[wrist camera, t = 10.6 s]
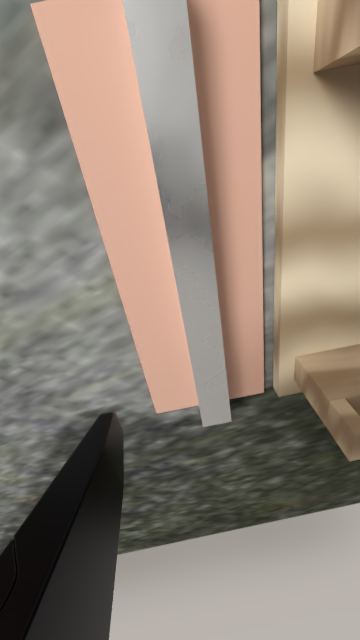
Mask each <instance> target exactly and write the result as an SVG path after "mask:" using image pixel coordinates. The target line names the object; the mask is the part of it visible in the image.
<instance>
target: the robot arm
mask: <svg viewBox="0 0 360 640" xmlns="http://www.w3.org/2000/svg"><path fill="white" fill-rule="evenodd" d="M123 487H124V465H123V430H122V427H121V425H120V422H119V420H118V417H117V415H116V413H115V412H114V411H111V412H106V413H102V414H100V415H99V416H98V418H97V419H96V421H95V422H94V424H93V425H92V426H91V428H90V429H89V431H88V432H87V433H86V435H85V436H84V438H83V439H82V440H81V442H80V443H79V445H78V446H77V448H76V449H75V450H74V452H73V453H72V455H71V456H70V457H69V459H68V460H67V462H66V463H65V464H64V466H63V467H62V469H61V470H60V472H59V473H58V474H57V476H56V477H55V479H54V480H53V481H52V483H51V484H50V486H49V487H48V488H47V490H46V491H45V493H44V494H43V496H42V497H41V498H40V500H39V501H38V503H37V504H36V505H35V507H34V508H33V510H32V511H31V513H30V514H29V515H28V517H27V518H26V520H25V521H24V522H23V524H22V525H21V527H20V528H19V529H18V531H17V532H16V534H15V535H14V539H12V540H11V541H10V542H9V543H8V545H7V546H6V548H5V549H4V550H3V552H2V553H1V555H0V640H109V631H110V621H111V611H112V601H113V590H114V581H115V571H116V560H117V551H118V540H119V530H120V520H121V510H122V500H123Z"/></svg>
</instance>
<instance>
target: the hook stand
mask: <svg viewBox="0 0 360 640" xmlns="http://www.w3.org/2000/svg"><path fill="white" fill-rule="evenodd" d="M273 388H274V390H275V391H276V393H277V395H278V397H280V396H285V395H291V394H296V393H301V392H303V394H304V395H305V397H306V398H307V400H308V401H309V403H310V404H311V405H312V407H313V408H314V410H315V411H316V413H317V414H318V416H319V417H320V419H321V420H322V422H323V423H324V425H325V426H326V428H327V429H328V431H329V432H330V433H331V435H332V436H333V438H334V439H335V441H336V442H337V444H338V445H339V447H340V448H341V450H342V451H343V453H344V454H345V456H346V457H347V459H348V460H349V461H354V460H359V459H360V0H277V85H276V176H275V267H274V358H273Z"/></svg>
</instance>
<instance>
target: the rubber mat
mask: <svg viewBox="0 0 360 640" xmlns="http://www.w3.org/2000/svg"><path fill="white" fill-rule="evenodd" d="M30 5H31V8H32V11H33V14H34V18H35V21H36V24H37V27H38V31H39V34H40V37H41V40H42V44H43V47H44V50H45V53H46V57H47V60H48V63H49V66H50V70H51V73H52V76H53V79H54V82H55V86H56V89H57V92H58V95H59V99H60V102H61V105H62V108H63V112H64V115H65V118H66V121H67V125H68V128H69V131H70V134H71V138H72V141H73V144H74V147H75V151H76V154H77V157H78V160H79V164H80V167H81V170H82V173H83V176H84V180H85V183H86V186H87V189H88V193H89V196H90V199H91V202H92V206H93V209H94V212H95V215H96V219H97V222H98V225H99V228H100V232H101V235H102V238H103V241H104V245H105V248H106V251H107V254H108V258H109V261H110V264H111V267H112V271H113V274H114V277H115V280H116V283H117V287H118V290H119V293H120V296H121V300H122V303H123V306H124V309H125V313H126V316H127V319H128V322H129V326H130V329H131V332H132V335H133V339H134V342H135V345H136V348H137V352H138V355H139V358H140V361H141V365H142V368H143V371H144V374H145V377H146V381H147V384H148V387H149V390H150V394H151V397H152V400H153V403H154V407H155V410H156V413H162V412H167V411H172V410H177V409H182V408H187V407H192V406H198V405H199V404H198V399H197V393H196V388H195V383H194V378H193V372H192V367H191V362H190V356H189V351H188V346H187V341H186V335H185V330H184V325H183V320H182V314H181V309H180V304H179V299H178V293H177V288H176V283H175V277H174V272H173V267H172V262H171V256H170V251H169V246H168V241H167V235H166V230H165V225H164V220H163V214H162V209H161V204H160V198H159V193H158V188H157V183H156V177H155V172H154V167H153V162H152V156H151V151H150V146H149V140H148V135H147V130H146V125H145V119H144V114H143V109H142V104H141V98H140V93H139V88H138V83H137V77H136V72H135V67H134V61H133V56H132V51H131V46H130V40H129V35H128V30H127V25H126V19H125V14H124V9H123V3H122V0H47V1H42V2H37V3H31V4H30ZM187 9H188V19H189V28H190V37H191V47H192V56H193V66H194V75H195V84H196V94H197V103H198V112H199V122H200V131H201V141H202V150H203V159H204V169H205V178H206V187H207V197H208V206H209V216H210V225H211V234H212V244H213V253H214V263H215V272H216V281H217V291H218V300H219V309H220V319H221V328H222V338H223V347H224V356H225V366H226V375H227V385H228V394H229V399H233V398H239V397H244V396H249V395H254V394H259V393H264V339H263V257H262V175H261V93H260V12H259V0H187Z"/></svg>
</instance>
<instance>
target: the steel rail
mask: <svg viewBox="0 0 360 640" xmlns="http://www.w3.org/2000/svg"><path fill="white" fill-rule="evenodd" d="M122 3H123V9H124V14H125V19H126V25H127V30H128V35H129V40H130V46H131V51H132V56H133V61H134V67H135V72H136V77H137V83H138V88H139V93H140V98H141V104H142V109H143V114H144V119H145V125H146V130H147V135H148V140H149V146H150V151H151V156H152V162H153V167H154V172H155V177H156V183H157V188H158V193H159V198H160V204H161V209H162V214H163V220H164V225H165V230H166V235H167V241H168V246H169V251H170V256H171V262H172V267H173V272H174V277H175V283H176V288H177V293H178V299H179V304H180V309H181V314H182V320H183V325H184V330H185V335H186V341H187V346H188V351H189V356H190V362H191V367H192V372H193V378H194V383H195V388H196V393H197V399H198V404H199V409H200V414H201V419H202V423H203V427H206V426H211V425H216V424H221V423H227V422H231V413H230V403H229V394H228V385H227V375H226V366H225V356H224V347H223V338H222V328H221V319H220V309H219V300H218V291H217V281H216V272H215V263H214V253H213V244H212V234H211V225H210V216H209V206H208V197H207V187H206V178H205V169H204V159H203V150H202V141H201V131H200V122H199V112H198V103H197V94H196V84H195V75H194V66H193V56H192V47H191V37H190V28H189V19H188V9H187V0H122Z"/></svg>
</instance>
